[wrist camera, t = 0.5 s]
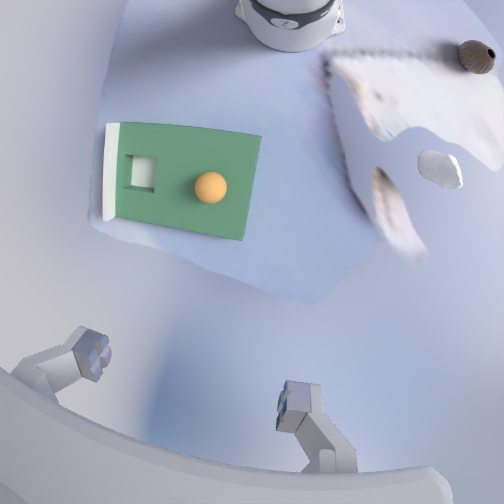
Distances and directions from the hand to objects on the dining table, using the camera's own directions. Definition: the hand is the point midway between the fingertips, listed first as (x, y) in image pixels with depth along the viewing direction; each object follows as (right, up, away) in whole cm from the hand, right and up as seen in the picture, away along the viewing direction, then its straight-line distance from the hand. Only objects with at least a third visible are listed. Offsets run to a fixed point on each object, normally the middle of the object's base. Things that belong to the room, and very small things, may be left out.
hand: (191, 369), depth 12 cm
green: (-10, +19, +38) cm, 44 cm away
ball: (-4, +15, +33) cm, 36 cm away
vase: (+44, +42, +22) cm, 65 cm away
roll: (+35, +21, +32) cm, 52 cm away
